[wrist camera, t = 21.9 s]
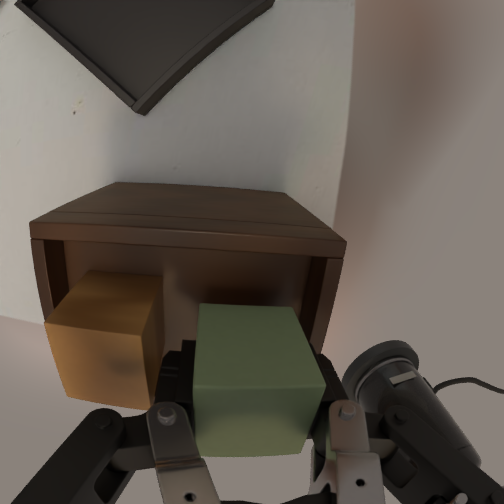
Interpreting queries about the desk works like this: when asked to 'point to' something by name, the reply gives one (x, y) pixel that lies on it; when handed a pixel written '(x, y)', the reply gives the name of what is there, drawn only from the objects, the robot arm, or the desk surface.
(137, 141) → the desk surface
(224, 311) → the sage block
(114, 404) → the oak block
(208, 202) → the stand
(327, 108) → the desk surface
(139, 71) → the tray
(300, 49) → the desk surface
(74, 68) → the desk surface
